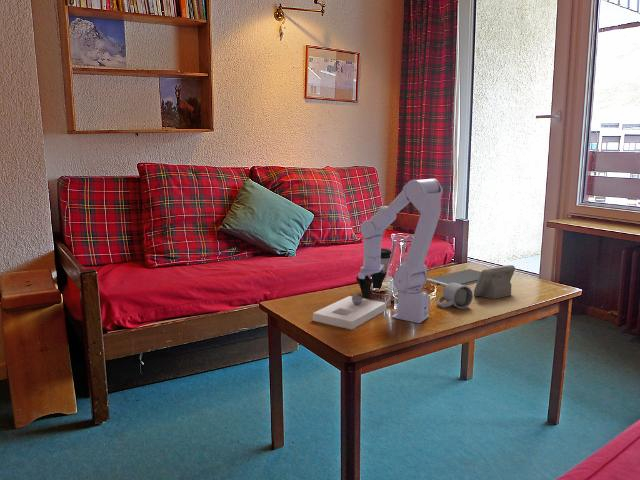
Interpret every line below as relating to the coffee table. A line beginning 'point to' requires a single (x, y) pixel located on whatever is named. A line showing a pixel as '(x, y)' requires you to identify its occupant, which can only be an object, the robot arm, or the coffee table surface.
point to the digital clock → (495, 282)
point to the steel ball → (357, 299)
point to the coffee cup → (384, 258)
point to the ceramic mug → (456, 296)
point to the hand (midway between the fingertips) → (371, 294)
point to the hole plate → (349, 312)
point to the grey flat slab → (457, 278)
